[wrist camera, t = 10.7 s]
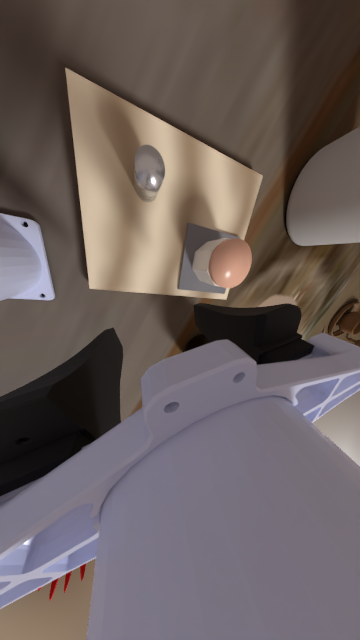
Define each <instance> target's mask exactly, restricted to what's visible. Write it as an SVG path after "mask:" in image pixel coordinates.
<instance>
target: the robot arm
mask: <svg viewBox="0 0 360 640" xmlns="http://www.w3.org/2000/svg"><path fill="white" fill-rule="evenodd" d="M24 222H27V224H28V227H25V226H24ZM42 294H44V295H45V297H43V296H42ZM7 298H15V299H36V300H52V299H54V298H55V294H54V289H53V284H52V280H51V275H50V270H49V266H48V261H47V257H46V252H45V247H44V243H43V238H42V233H41V229H40V226H39V224H38V223H37V222H35V221H33V220H31V219H26V218H21V217H17V216H12V215H7V214H2V213H0V301H1V300H4V299H7ZM194 312H195V321H196V325H197V326H198V328H199V329H200V331H201V332H202V333H203V334H204V335H205V336H206V337H207V339H208V340H209V341H210V342H211V343H208V344H205V345H203V346H200V347H197V348H194V349H191V350H189V351H186V352H183V353H180V354H178V355H175V356H172V357H169V358H166V359H164V360H161V361H159V362H158V363H156V364H154V365H153V366H151V367H149V368H148V369H147V371H146V372H145V374H144V375H143V377H142V378H141V390H142V404H143V407H142V408H141V409H139V410H138V411H137V412H135V413H134V414H132V415H131V416H129V417H128V418H127V419H125V420H124V421H122V422H121V420H120V377H121V369H122V361H123V347H122V345H121V343H120V341H119V338H118V336H117V334H116V332H115V330H114V328H111V329H107V330H105V331H103V332H102V333H101V334H100V335H98V336H97V337H96V338H95V339H94V340H93V341H92V342H91V343H89V344H88V345H87V346H86V347H85V348H83V349H82V350H81V351H80V352H79V353H77V354H76V355H75V356H73V357H72V358H70V359H69V360H67V361H66V362H64V363H63V364H61V365H60V366H58V367H56V368H55V369H53V370H52V371H50V372H48V373H47V374H45V375H43V376H41V377H39V378H38V379H36V380H34V381H32V382H30V383H28V384H26V385H24V386H22V387H20V388H18V389H16V390H14V391H12V392H10V393H8V394H5V395H3V396H1V397H0V609H1V608H3V607H5V606H7V605H8V604H10V603H12V602H14V601H16V600H18V599H20V598H21V597H23V596H25V595H27V594H29V593H31V592H33V591H34V590H36V589H38V588H40V587H42V586H44V585H46V584H48V583H50V582H51V581H53V580H55V579H57V578H59V577H61V576H63V575H65V574H67V573H68V572H70V571H72V570H74V569H76V568H78V567H80V566H82V565H84V564H85V563H87V562H89V561H91V560H93V559H95V558H96V563H95V572H94V580H93V588H92V596H91V605H90V613H89V622H88V630H87V639H86V640H360V467H359V466H358V465H357V464H356V463H355V462H354V461H353V460H352V459H351V458H350V457H349V456H348V455H346V454H345V453H344V452H343V451H342V450H341V449H340V448H339V447H338V446H337V445H336V444H335V443H333V442H332V441H331V440H330V439H329V438H328V437H327V436H326V435H325V434H324V433H323V432H321V431H320V430H319V429H318V428H317V427H316V426H315V425H314V424H313V422H314V421H316V420H317V419H318V418H320V417H321V416H323V415H324V414H325V413H327V412H328V411H329V410H331V409H332V408H333V407H335V406H336V405H338V404H339V403H341V402H342V401H344V400H345V399H346V398H348V397H350V396H351V395H353V394H354V393H356V392H357V391H359V390H360V347H358V346H356V345H353V344H351V343H348V342H345V341H343V340H340V339H338V338H335V337H333V336H330V335H328V334H325V333H320V334H318V335H316V336H313V337H311V338H309V339H308V340H307V341H304V340H302V339H301V338H302V335H300V334H298V333H297V330H298V326H299V323H300V320H301V310H300V308H299V307H298V306H295V305H292V304H281V305H274V306H267V307H256V308H231V307H222V306H216V305H210V304H203V303H199V304H196V305H194Z"/></svg>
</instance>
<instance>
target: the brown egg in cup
mask: <svg viewBox="0 0 360 640" xmlns="http://www.w3.org/2000/svg"><path fill="white" fill-rule="evenodd" d="M251 261H252V255H251V250H250V247H249V245H248V244H247V243H246V242H245V241H244V240H242V239H239V238H234V239H231V238H223V239H218V240H213V241H208V242H206V243H205V244H204V245H203V246H201V247H200V248H199V249H198V250H197V251H195V255H194V261H193V266H192V269H193V271H194V272H195V274H196V276H197V277H198V279H199V280H200V281H202V282H205V283H208V284H211V285H214V286H219V287H223V288H232V287H235V286H237V285H238V284H240V283H241V282H242V281H243V280H244V279H245V277H246V276H247V274H248V272H249V270H250V267H251Z"/></svg>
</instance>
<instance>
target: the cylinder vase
mask: <svg viewBox="0 0 360 640" xmlns="http://www.w3.org/2000/svg"><path fill="white" fill-rule="evenodd" d="M286 225H287V231H288V234H289V236H290V238H291V240H292V241H293V242H294V243H296V244H298V245H301V246H310V245H326V244H341V243H356V242H360V127H358V128H356V129H355V130H353V131H351V132H349V133H348V134H346V135H344V136H342V137H341V138H339V139H337V140H335V141H334V142H332V143H330V144H328V145H327V146H325V147H323V148H322V149H321V150H319V151H318V152H317V153H316V154H315V155H314V156H313V157H312V158H311V159H310V160H309V161H308V162H307V164H306V165H305V166H304V168H303V169H302V171H301V173H300V174H299V176H298V178H297V180H296V182H295V184H294V186H293V189H292V192H291V195H290V198H289V202H288V206H287V214H286Z"/></svg>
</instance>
